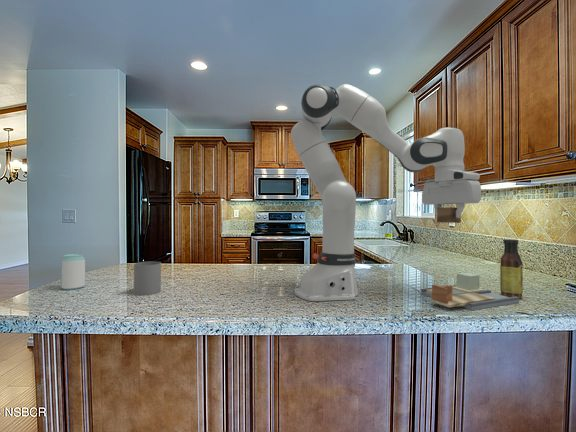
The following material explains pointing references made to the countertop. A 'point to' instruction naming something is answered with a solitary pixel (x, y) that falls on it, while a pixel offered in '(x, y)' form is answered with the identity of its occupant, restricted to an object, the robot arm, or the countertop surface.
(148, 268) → the cup
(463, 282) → the sage block
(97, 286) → the countertop surface
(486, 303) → the lane board
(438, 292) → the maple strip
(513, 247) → the sauce bottle
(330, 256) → the robot arm
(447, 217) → the walnut cube
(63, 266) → the can
